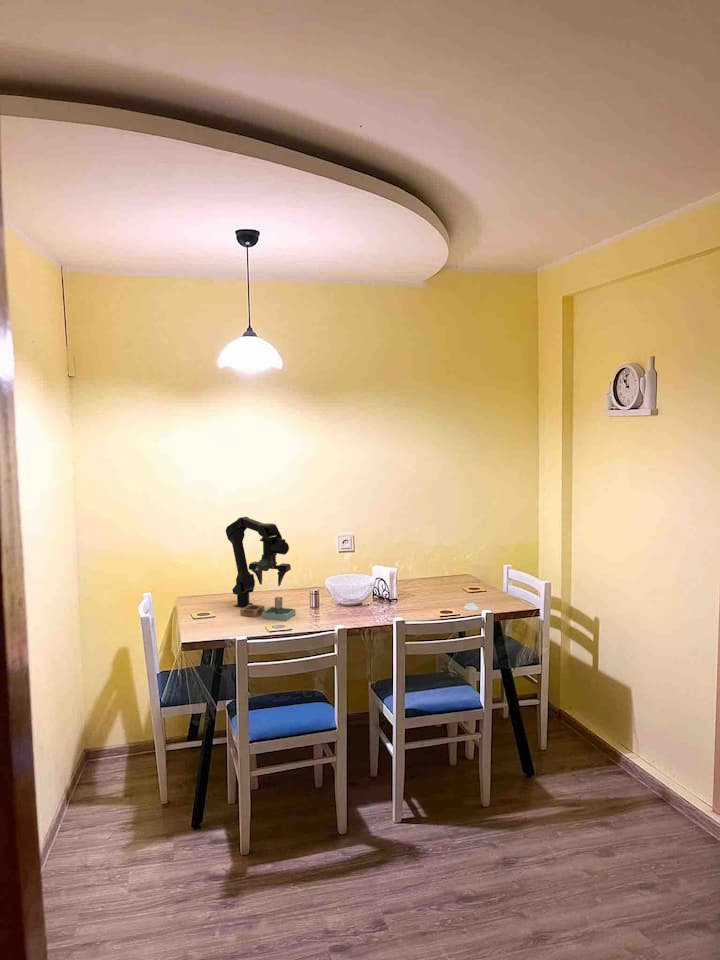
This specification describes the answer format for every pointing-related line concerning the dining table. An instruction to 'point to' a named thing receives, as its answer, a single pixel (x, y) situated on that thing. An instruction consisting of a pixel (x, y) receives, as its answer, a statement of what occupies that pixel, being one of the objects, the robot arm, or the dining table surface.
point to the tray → (285, 615)
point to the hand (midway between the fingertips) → (269, 585)
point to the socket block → (252, 610)
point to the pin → (278, 605)
